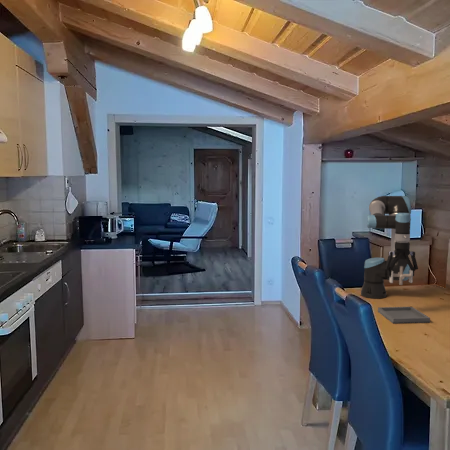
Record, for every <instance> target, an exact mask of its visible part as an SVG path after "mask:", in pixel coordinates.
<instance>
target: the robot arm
mask: <svg viewBox="0 0 450 450" xmlns="http://www.w3.org/2000/svg"><path fill="white" fill-rule="evenodd" d="M368 211H369V212H370V214H369V215H367V222H366V227H367V228H368V229H383V230H384V229H388V230H390V234H391V235H390V251H388V257H387V260H385V258H384V257H371V258H368V259H365V261H364V266H363V268H364V275H363V278H364V279H363V285H362V287H361V290H360V295H361V297H364V298H368V299H375V300H376V299H385V298H387V290H386V287H385V283H384V282H385V280H387V281H388V282H389V283H390V284H394V281H399V277H393V273H394V274H398V273H399V271H400V266H403V274H411V277H405V278H404V279H403V282H404V281H408V282H409V283H411V284H412V283H413V277H415V272H416V270H419V266H418V262H417V259H416V251H412V250H411V251H410V247H411V244H410V241H411V221H412V215H411V214H412V204H411V199H410V197H409V196H405V195H381V196H378V197H375V198H374V199H373V200H371V201H370V203H369V205H368ZM409 255H410V257H409ZM410 258H411V259H410Z"/></svg>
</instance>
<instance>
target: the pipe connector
mask: <svg viewBox="0 0 450 450" xmlns="http://www.w3.org/2000/svg"><path fill="white" fill-rule="evenodd" d="M393 277H399V280H398V284H399V285H400V286H403V285H404V283H403V282H404V281H403V279H404V278H405V277H411V274H403V266H400V271H399V273H398V274H394V273H393Z"/></svg>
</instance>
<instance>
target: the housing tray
mask: <svg viewBox="0 0 450 450" xmlns="http://www.w3.org/2000/svg"><path fill="white" fill-rule="evenodd" d="M377 313H379V314H380V315H381V316H383V317H384V318H385V319H387V320H388V321H389V322H390V323H391V324H393V325H397V324H398V325H400V324H401V325H403V324H430V323H431V317H429V316H427V314H425V313H423V312H421V311H420V310H419V309H416V308H415V307H413V306H385V307H383V306H382V307H381V306H380V307H377Z"/></svg>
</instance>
